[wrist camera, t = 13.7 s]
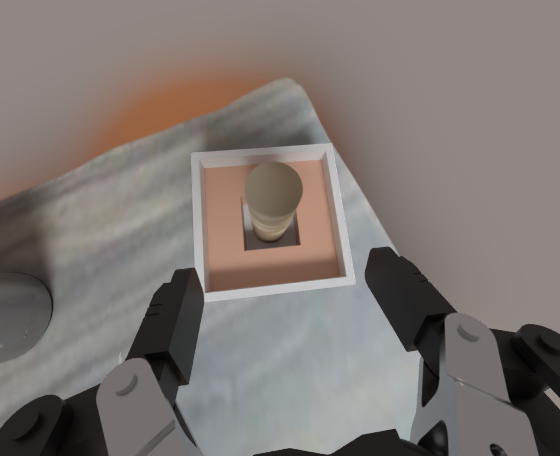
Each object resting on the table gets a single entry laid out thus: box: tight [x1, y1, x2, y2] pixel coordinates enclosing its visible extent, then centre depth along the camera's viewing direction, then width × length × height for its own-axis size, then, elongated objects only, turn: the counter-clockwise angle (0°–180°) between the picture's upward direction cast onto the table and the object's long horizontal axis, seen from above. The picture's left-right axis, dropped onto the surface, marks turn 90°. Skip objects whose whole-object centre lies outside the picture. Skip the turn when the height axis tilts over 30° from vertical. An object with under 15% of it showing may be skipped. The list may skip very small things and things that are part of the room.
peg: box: [245, 161, 303, 243], centre depth 21 cm, size 4×4×12 cm
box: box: [191, 143, 356, 302], centre depth 25 cm, size 15×15×6 cm
